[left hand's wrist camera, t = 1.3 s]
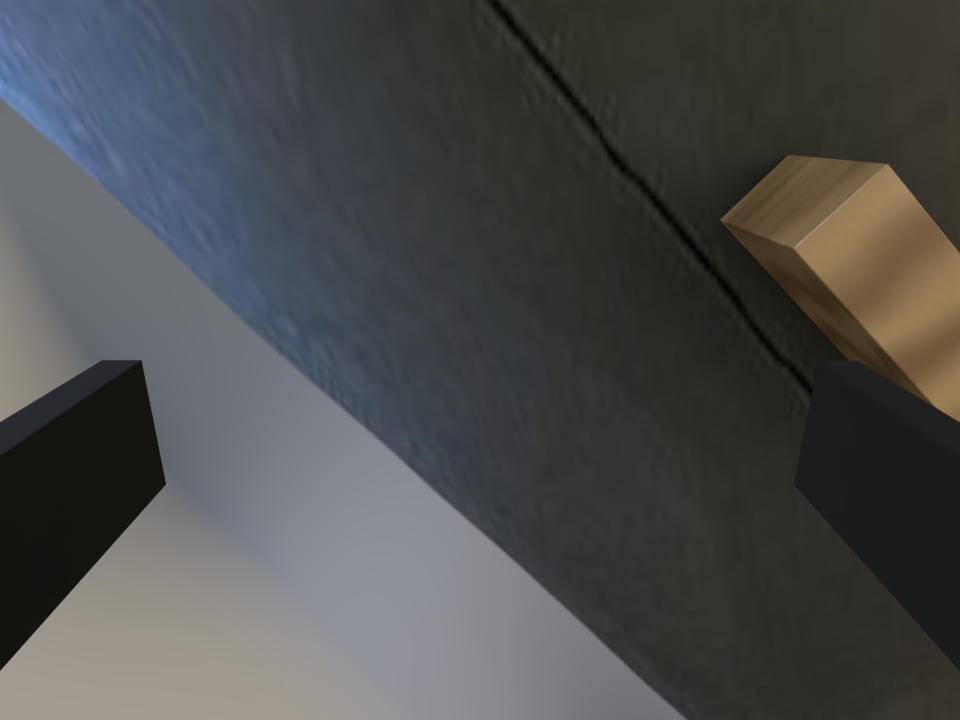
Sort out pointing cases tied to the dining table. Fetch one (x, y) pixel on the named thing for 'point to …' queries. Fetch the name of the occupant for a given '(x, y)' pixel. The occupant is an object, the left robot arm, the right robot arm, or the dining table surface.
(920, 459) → the left robot arm
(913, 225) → the bar
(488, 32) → the dining table surface
